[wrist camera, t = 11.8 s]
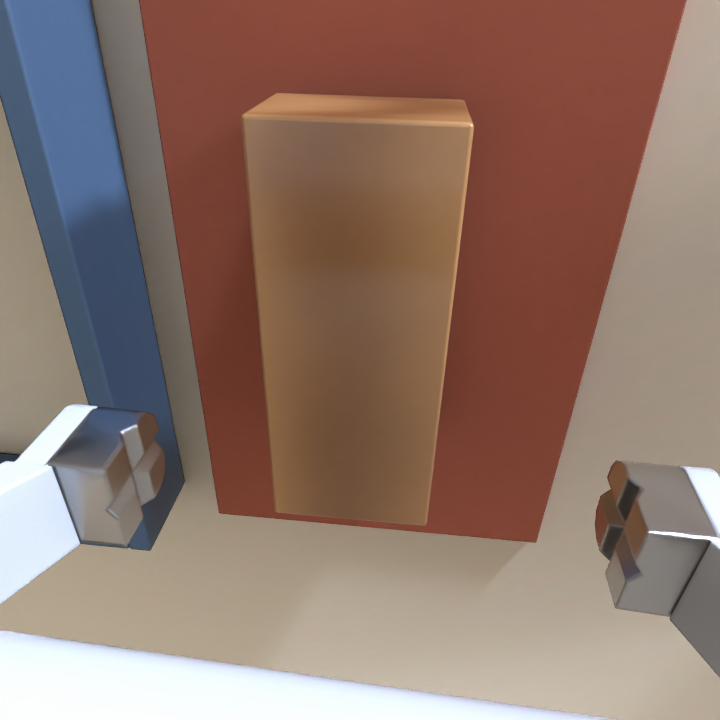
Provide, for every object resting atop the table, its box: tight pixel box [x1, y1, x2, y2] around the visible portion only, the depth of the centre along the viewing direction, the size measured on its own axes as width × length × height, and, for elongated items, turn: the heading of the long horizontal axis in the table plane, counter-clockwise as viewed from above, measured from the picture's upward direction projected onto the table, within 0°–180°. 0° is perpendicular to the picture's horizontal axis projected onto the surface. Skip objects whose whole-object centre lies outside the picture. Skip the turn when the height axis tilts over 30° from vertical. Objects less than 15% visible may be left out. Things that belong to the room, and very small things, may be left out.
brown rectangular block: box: [241, 93, 474, 526], centre depth 16 cm, size 4×11×4 cm, turn 179°
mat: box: [139, 0, 686, 542], centre depth 18 cm, size 13×22×1 cm, turn 179°
